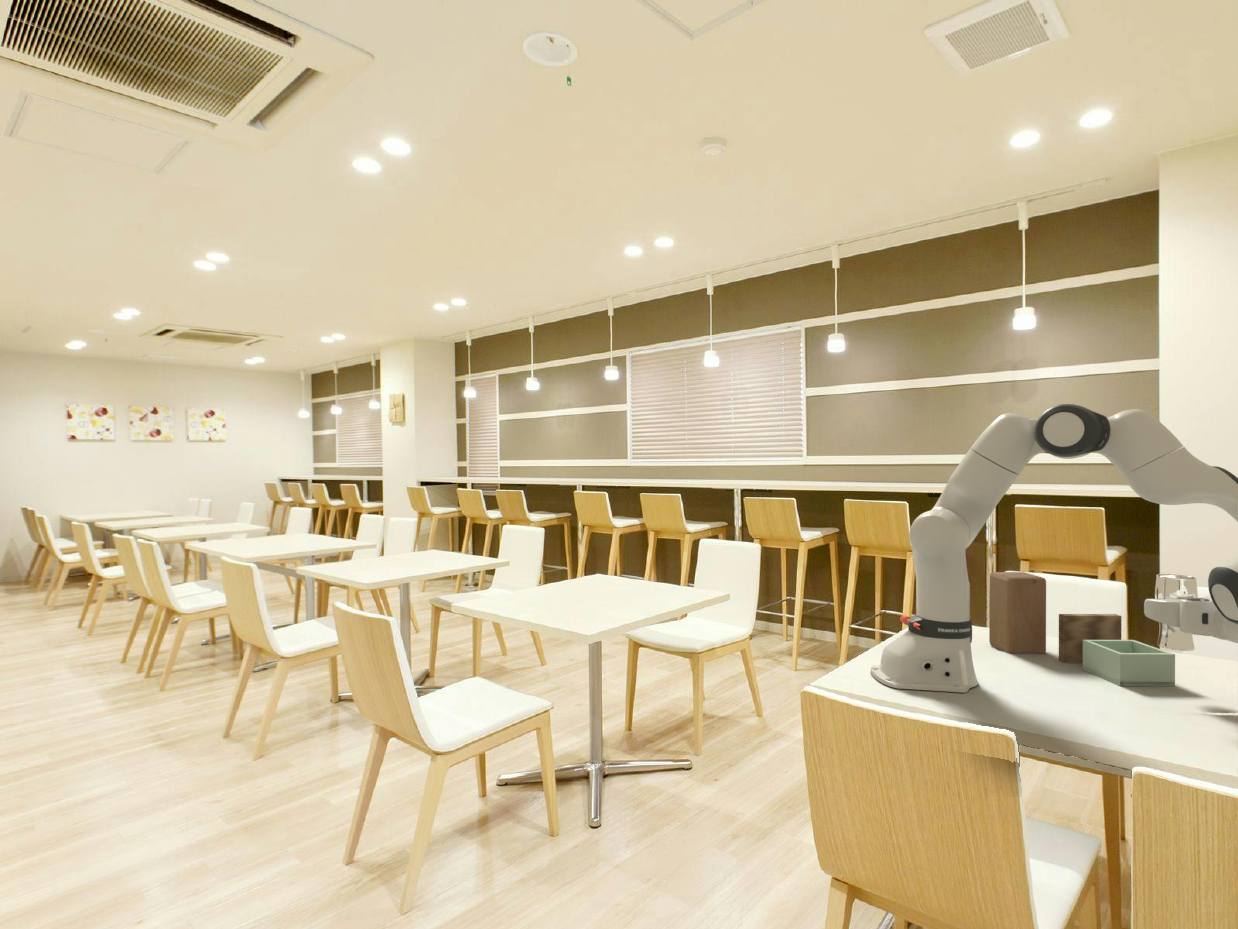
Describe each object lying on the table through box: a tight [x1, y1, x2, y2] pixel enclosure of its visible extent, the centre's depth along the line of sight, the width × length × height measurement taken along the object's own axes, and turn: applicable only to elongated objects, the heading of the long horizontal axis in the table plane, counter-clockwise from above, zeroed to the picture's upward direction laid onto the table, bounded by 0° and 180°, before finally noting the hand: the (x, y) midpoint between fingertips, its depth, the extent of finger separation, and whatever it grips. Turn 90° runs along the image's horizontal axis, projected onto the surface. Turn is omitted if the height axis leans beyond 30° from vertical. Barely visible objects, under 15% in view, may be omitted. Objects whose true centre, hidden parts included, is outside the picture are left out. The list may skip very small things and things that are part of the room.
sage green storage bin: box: [1082, 639, 1176, 687], centre depth 153 cm, size 12×12×7 cm
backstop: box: [1058, 613, 1122, 664], centre depth 156 cm, size 14×20×12 cm
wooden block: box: [988, 571, 1047, 655], centre depth 177 cm, size 10×10×20 cm
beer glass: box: [1154, 573, 1199, 652], centre depth 142 cm, size 7×7×15 cm
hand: (1171, 602), depth 143 cm, fingers closed on beer glass, 6 cm apart
